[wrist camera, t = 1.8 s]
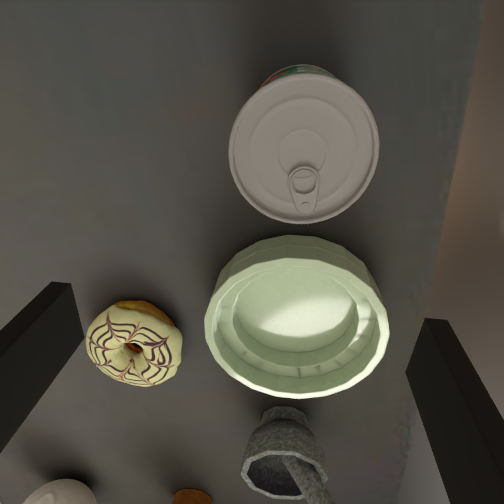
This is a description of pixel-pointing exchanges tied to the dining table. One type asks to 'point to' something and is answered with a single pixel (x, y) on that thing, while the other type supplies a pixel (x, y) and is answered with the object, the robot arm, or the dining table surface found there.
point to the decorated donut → (128, 354)
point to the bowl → (296, 318)
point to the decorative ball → (62, 493)
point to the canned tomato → (303, 146)
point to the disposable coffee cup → (191, 497)
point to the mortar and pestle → (286, 458)
